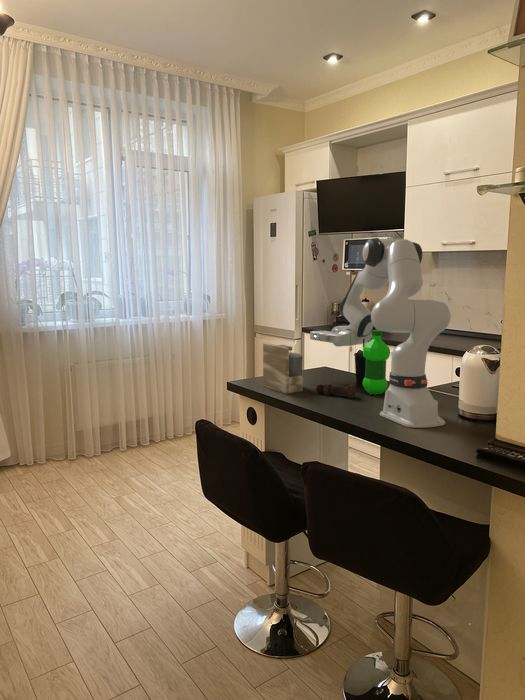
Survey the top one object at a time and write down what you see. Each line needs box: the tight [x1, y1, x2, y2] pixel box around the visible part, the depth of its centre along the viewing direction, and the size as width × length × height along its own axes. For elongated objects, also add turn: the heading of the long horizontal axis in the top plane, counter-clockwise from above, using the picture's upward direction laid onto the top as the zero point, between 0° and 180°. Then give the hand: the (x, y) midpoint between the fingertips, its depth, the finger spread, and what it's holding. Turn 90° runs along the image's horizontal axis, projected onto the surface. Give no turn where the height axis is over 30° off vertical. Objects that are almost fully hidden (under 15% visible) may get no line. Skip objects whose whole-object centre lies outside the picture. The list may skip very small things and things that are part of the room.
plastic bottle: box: [362, 329, 391, 396], centre depth 210 cm, size 10×10×25 cm
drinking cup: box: [353, 339, 366, 388], centre depth 222 cm, size 8×8×20 cm
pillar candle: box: [289, 350, 303, 377], centre depth 220 cm, size 10×10×15 cm
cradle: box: [262, 342, 304, 395], centre depth 218 cm, size 9×16×18 cm, turn 33°
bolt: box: [315, 383, 356, 399], centre depth 208 cm, size 6×5×15 cm
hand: (315, 338), depth 225 cm, fingers closed
